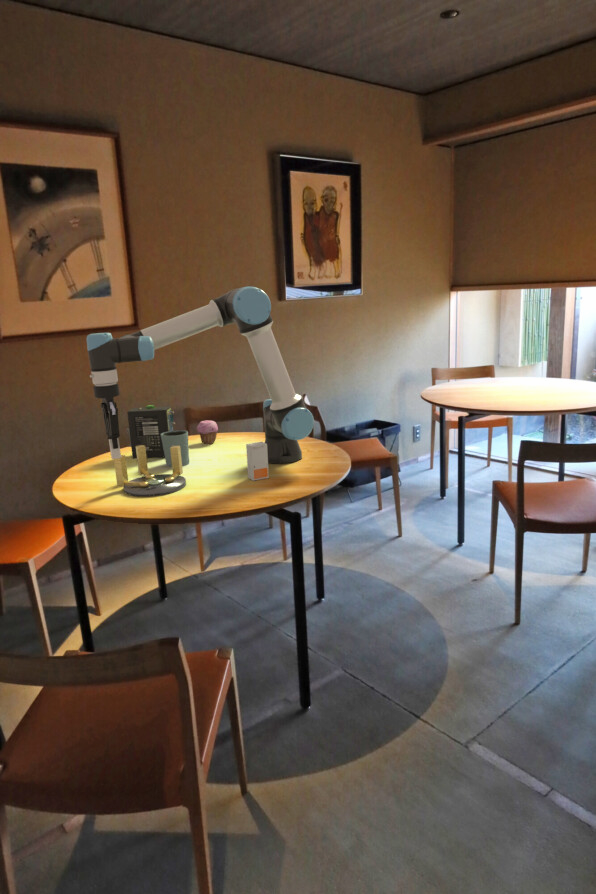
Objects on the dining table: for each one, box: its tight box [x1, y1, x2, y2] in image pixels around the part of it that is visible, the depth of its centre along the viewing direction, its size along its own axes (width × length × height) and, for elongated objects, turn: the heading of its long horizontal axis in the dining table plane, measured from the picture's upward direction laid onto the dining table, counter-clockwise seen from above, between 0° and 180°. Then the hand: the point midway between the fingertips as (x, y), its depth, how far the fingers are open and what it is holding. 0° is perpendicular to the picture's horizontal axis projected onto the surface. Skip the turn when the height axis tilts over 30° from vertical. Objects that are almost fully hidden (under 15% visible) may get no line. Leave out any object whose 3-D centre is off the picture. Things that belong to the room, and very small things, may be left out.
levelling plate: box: [123, 473, 187, 498], centre depth 200 cm, size 20×20×2 cm
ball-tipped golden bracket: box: [113, 454, 148, 487], centre depth 196 cm, size 11×3×10 cm, turn 71°
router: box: [126, 404, 176, 460], centre depth 241 cm, size 8×18×20 cm, turn 89°
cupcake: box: [196, 419, 219, 445], centre depth 260 cm, size 9×9×10 cm
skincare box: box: [245, 441, 270, 481], centre depth 204 cm, size 6×4×12 cm
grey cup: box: [161, 429, 190, 468], centre depth 228 cm, size 10×10×12 cm
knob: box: [136, 445, 155, 480], centre depth 207 cm, size 11×3×10 cm, turn 30°
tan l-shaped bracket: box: [165, 446, 183, 482], centre depth 203 cm, size 11×3×10 cm, turn 172°
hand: (116, 457), depth 193 cm, fingers closed
